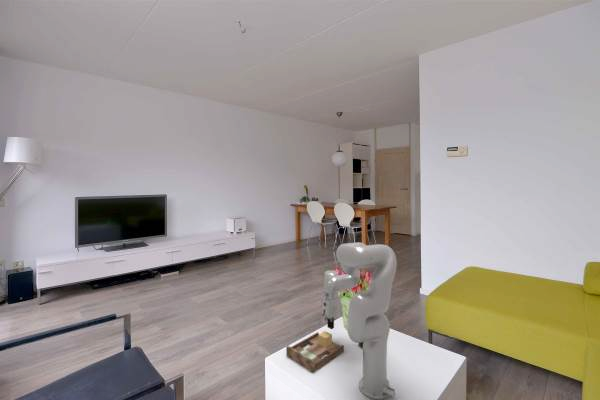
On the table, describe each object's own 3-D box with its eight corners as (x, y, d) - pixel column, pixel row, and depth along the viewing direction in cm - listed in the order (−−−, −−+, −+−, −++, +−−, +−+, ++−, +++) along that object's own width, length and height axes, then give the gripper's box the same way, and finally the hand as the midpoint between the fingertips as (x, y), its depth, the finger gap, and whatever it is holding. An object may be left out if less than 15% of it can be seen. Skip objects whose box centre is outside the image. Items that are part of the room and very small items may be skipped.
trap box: (343, 351, 142) (343, 342, 141) (313, 373, 126) (313, 362, 125) (317, 338, 154) (317, 329, 154) (286, 355, 138) (286, 346, 138)
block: (332, 343, 145) (332, 334, 145) (325, 347, 142) (325, 338, 141) (324, 340, 149) (324, 330, 148) (318, 343, 145) (318, 334, 145)
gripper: (327, 300, 140) (327, 336, 141) (345, 292, 150) (344, 325, 151) (316, 296, 145) (316, 330, 146) (334, 288, 155) (333, 320, 157)
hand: (330, 327), depth 149 cm, fingers closed
